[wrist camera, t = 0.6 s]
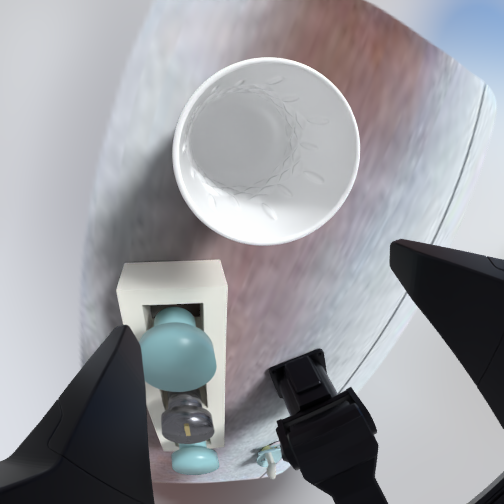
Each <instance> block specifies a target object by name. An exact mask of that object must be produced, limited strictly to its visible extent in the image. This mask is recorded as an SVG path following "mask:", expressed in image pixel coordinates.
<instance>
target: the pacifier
mask: <svg viewBox="0 0 504 504" xmlns="http://www.w3.org/2000/svg"><path fill="white" fill-rule="evenodd" d="M279 445H280V441H279V442H275V443H273V444H272V445H268V446H265V447H264V448H263V449H262V451H261V452H258V455H259V456H258V457H257V463H258V465H260V466H262V467H267V475H268V476H269V478H271V479H275V477H276V464H275V463H277V462H278V461H279V460H280V459H281V458H282V455H281V448H276V446H279ZM262 459H265V460H264V461H261V460H262Z"/></svg>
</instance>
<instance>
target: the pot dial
mask: <svg viewBox="0 0 504 504" xmlns="http://www.w3.org/2000/svg"><path fill="white" fill-rule="evenodd" d="M167 396H168V409H167V410H166V411H164V412H163V413H162V415H161V428H162V435H163V436H164V438H166V439H167V440H169V441H171V442H175V443H180V444H195V443H200V442H203V441H206V440H208V439H210V438H211V437H212V436H213V435H214V432H215V431H214V426H213V420H212V415H211V413H210V412H209V411H208V410H206V409H204V408H203V407H202V400H201V393H200V390H199V389H198V388H197V389H194V390H191V391H185V392H170V391H168V392H167Z"/></svg>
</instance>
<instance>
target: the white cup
mask: <svg viewBox="0 0 504 504" xmlns="http://www.w3.org/2000/svg"><path fill="white" fill-rule="evenodd" d="M359 159H360V139H359V132H358V128H357V124H356V120H355V118H354V115H353V112H352V110H351V108H350V106H349V104H348V103H347V101H346V99H345V98H344V96H343V95H342V94H341V92H340V91H339V90H338V89H337V88H336V87H335V85H334V84H333V83H332V82H330V81H329V80H328V79H327V78H326V77H324V76H323V75H322V74H320V73H319V72H317V71H316V70H314V69H312V68H310V67H308V66H306V65H304V64H301V63H298V62H295V61H292V60H287V59H282V58H255V59H249V60H245V61H241V62H238V63H235V64H232V65H230V66H228V67H226V68H224V69H222V70H220V71H219V72H217V73H215V74H214V75H213V76H211V77H210V78H209V79H207V80H206V81H205V82H204V83H203V84H202V85H201V86H200V87H199V88H198V89H197V90H196V91H195V92H194V93H193V95H192V96H191V97H190V99H189V100H188V102H187V103H186V105H185V107H184V109H183V111H182V113H181V115H180V117H179V120H178V122H177V125H176V129H175V133H174V138H173V146H172V161H173V169H174V174H175V179H176V182H177V185H178V188H179V190H180V192H181V194H182V196H183V198H184V200H185V202H186V203H187V205H188V206H189V208H190V209H191V211H192V212H193V213H194V214H195V215H196V216H197V218H198V219H199V220H200V221H202V222H203V223H204V224H205V225H206V226H207V227H209V228H210V229H212V230H213V231H215V232H216V233H218V234H220V235H221V236H223V237H226V238H228V239H230V240H233V241H236V242H239V243H244V244H249V245H258V246H269V245H278V244H284V243H288V242H291V241H294V240H297V239H300V238H302V237H304V236H306V235H308V234H310V233H312V232H313V231H315V230H317V229H318V228H319V227H321V226H322V225H323V224H325V223H326V222H327V221H328V220H329V219H330V218H331V217H332V216H333V215H334V214H335V213H336V212H337V211H338V209H339V208H340V207H341V206H342V204H343V203H344V201H345V200H346V198H347V196H348V194H349V192H350V190H351V188H352V186H353V184H354V181H355V178H356V175H357V171H358V166H359Z"/></svg>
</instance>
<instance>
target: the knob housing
mask: <svg viewBox="0 0 504 504" xmlns="http://www.w3.org/2000/svg"><path fill="white" fill-rule="evenodd" d="M227 290H228V286H227V282H226V279H225V275H224V272H223V268H222V265H221V261H220V260H195V261H167V262H137V263H124V266H123V269H122V273H121V276H120V279H119V282H118V286H117V289H116V292H117V297H118V302H119V307H120V312H121V316H122V321H123V325H128V326H129V327H130V328H131V330H132V331H133V333H134V335H135V337H136V338H137V340H138V342H139V341H140V338H141V337H142V335H143V334H144V333H145V332H146V331H148V330H149V329H150V328H152V327H154V319H155V318H153V319H152V315H151V308H150V305H166V304H190V303H200V317H194V318H195V322H196V327H197V328H199V329H201V330H202V331H204V332H205V333H206V334H207V335H208V336H209V338H210V339H211V341H212V344H213V348H214V353H215V359H216V365H217V368H216V372H215V374H214V376H213V378H212V379H211V380H210V381H209V382H208V383H206V384H205V385H203V386H202V387H199V388H198V389H199V390H200V393H201V400H202V407H203V408H204V409H206V410H208V411H209V412H210V413H211V415H212V420H213V426H214V431H215V432H214V435H213V436H212V437H211V438H210V439H208V440H206V445H207V448H209V449H213V448H223V447H224V424H225V358H226V320H227ZM145 386H146V405H147V408H148V411H149V414H150V417H151V419H152V422H153V425H154V428H155V430H156V433H157V435H158V438H159V440H160V443H161V445H162V448H163V450H164V451H177V450H179V443H175V442H171V441H169V440H167V439H166V438H164V436H163V435H162V428H161V415H162V413H163V412H164V411H166V410H167V409H168V396H167V392H168V391H164V390H161V389H158V388H155V387H153V386H151V385H150V384H148V383H147V382H146V381H145Z"/></svg>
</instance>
